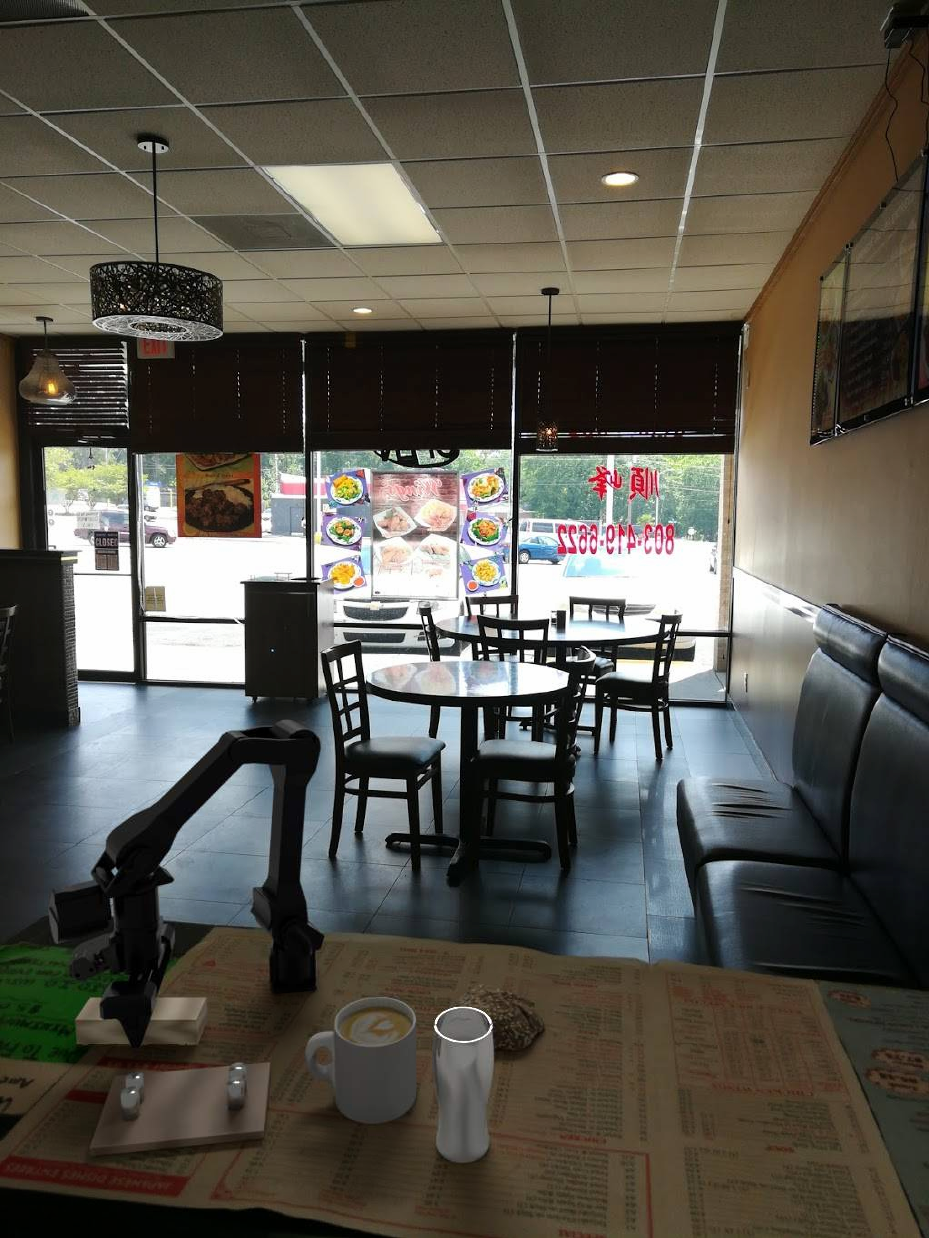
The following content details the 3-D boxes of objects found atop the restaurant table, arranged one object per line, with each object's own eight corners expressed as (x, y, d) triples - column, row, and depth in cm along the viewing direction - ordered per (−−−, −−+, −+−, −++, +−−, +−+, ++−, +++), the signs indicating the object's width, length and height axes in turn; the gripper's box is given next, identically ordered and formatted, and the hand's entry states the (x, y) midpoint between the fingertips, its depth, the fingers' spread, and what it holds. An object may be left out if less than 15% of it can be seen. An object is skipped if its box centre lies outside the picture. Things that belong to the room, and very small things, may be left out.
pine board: (207, 1023, 123) (206, 997, 123) (197, 1046, 118) (196, 1019, 118) (92, 1023, 123) (90, 997, 123) (77, 1047, 118) (75, 1019, 118)
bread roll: (437, 1041, 120) (437, 1007, 119) (471, 992, 131) (471, 961, 130) (527, 1065, 115) (527, 1030, 114) (554, 1012, 127) (555, 980, 126)
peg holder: (270, 1069, 114) (269, 1040, 113) (263, 1138, 102) (262, 1107, 101) (115, 1083, 111) (113, 1054, 110) (89, 1156, 99) (87, 1124, 98)
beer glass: (487, 1171, 97) (488, 1047, 95) (425, 1161, 99) (425, 1039, 96) (497, 1126, 104) (499, 1009, 102) (439, 1117, 105) (440, 1001, 103)
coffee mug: (424, 1072, 113) (423, 1001, 112) (405, 1128, 104) (405, 1051, 102) (323, 1060, 115) (321, 989, 114) (296, 1114, 106) (294, 1038, 104)
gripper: (91, 890, 126) (98, 991, 128) (51, 961, 108) (60, 1077, 110) (173, 885, 128) (178, 984, 130) (147, 954, 109) (154, 1068, 112)
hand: (143, 1025), depth 121 cm, fingers open, 9 cm apart
